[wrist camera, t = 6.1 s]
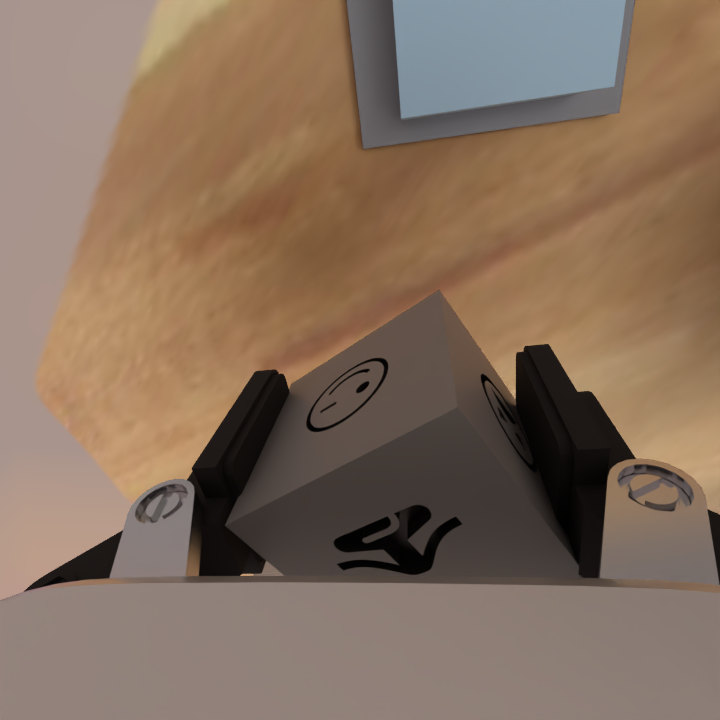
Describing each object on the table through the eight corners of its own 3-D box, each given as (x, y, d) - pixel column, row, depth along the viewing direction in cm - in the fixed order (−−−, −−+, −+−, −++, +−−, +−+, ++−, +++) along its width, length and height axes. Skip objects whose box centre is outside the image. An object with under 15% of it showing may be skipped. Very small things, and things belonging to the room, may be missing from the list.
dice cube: (439, 289, 10) (458, 407, 6) (533, 426, 12) (601, 596, 8) (291, 384, 12) (224, 525, 8) (391, 490, 14) (380, 657, 10)
